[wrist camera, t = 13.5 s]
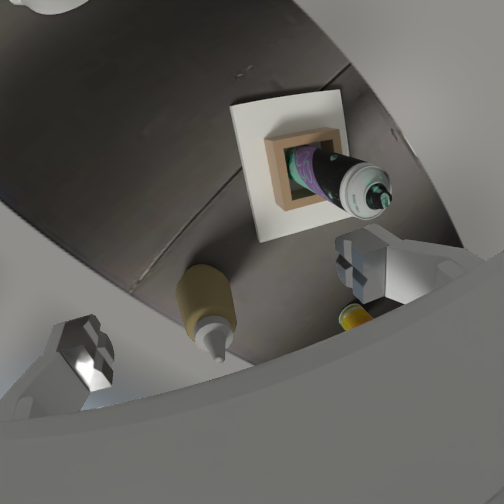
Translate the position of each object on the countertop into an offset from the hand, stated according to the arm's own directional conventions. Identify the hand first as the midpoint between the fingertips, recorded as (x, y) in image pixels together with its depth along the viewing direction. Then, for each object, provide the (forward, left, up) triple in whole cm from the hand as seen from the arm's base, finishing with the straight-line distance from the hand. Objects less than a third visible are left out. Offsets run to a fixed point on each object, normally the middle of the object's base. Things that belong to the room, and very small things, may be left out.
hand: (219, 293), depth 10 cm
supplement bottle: (+36, +23, -35) cm, 55 cm away
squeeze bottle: (+19, -2, -35) cm, 40 cm away
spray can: (+5, +16, -34) cm, 38 cm away
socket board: (+5, +16, -35) cm, 39 cm away
